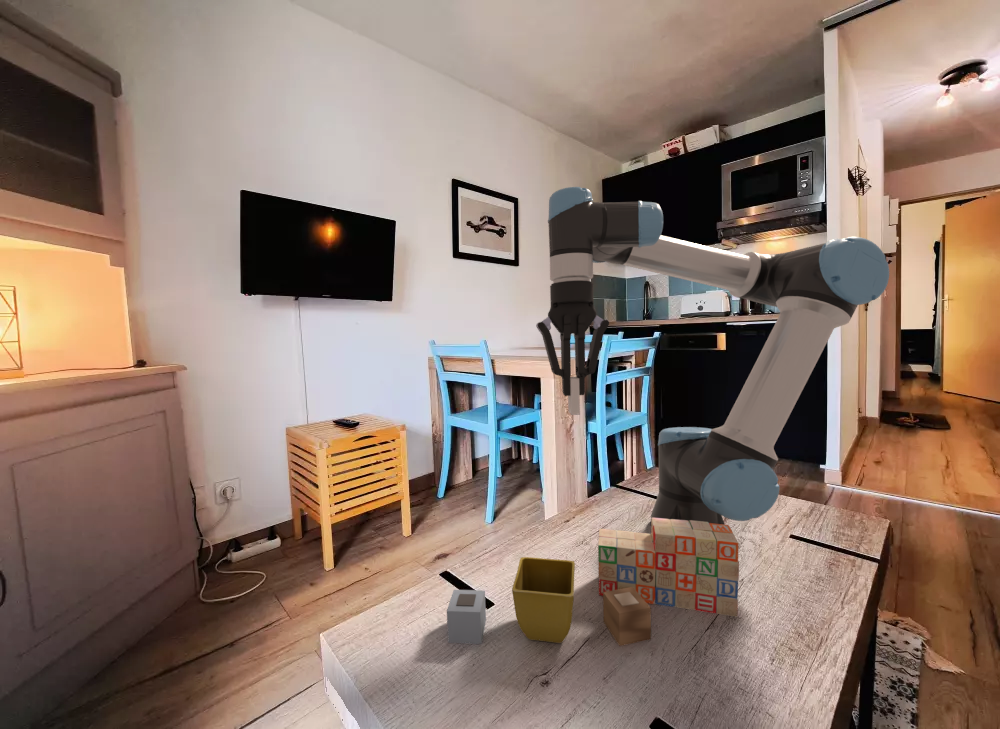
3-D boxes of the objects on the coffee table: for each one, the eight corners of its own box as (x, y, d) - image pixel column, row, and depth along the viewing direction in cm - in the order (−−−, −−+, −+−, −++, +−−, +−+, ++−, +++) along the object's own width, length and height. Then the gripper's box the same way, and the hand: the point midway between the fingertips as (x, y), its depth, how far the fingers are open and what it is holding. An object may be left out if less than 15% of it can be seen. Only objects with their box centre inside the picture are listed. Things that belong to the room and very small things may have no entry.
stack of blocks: (598, 597, 70) (596, 527, 69) (599, 575, 76) (598, 511, 75) (738, 617, 64) (739, 541, 63) (728, 592, 70) (729, 523, 69)
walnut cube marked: (632, 617, 65) (632, 585, 64) (650, 640, 60) (650, 606, 59) (603, 622, 64) (603, 591, 63) (619, 646, 59) (619, 612, 58)
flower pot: (575, 657, 57) (573, 595, 56) (513, 649, 59) (511, 589, 58) (576, 614, 66) (575, 560, 65) (522, 608, 67) (520, 556, 67)
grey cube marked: (486, 620, 65) (484, 589, 65) (481, 644, 60) (480, 611, 60) (455, 619, 65) (453, 588, 65) (448, 643, 60) (446, 610, 60)
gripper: (601, 283, 76) (603, 408, 78) (532, 285, 76) (535, 410, 78) (614, 277, 69) (616, 416, 71) (537, 280, 68) (541, 419, 70)
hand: (574, 413), depth 74 cm, fingers closed
